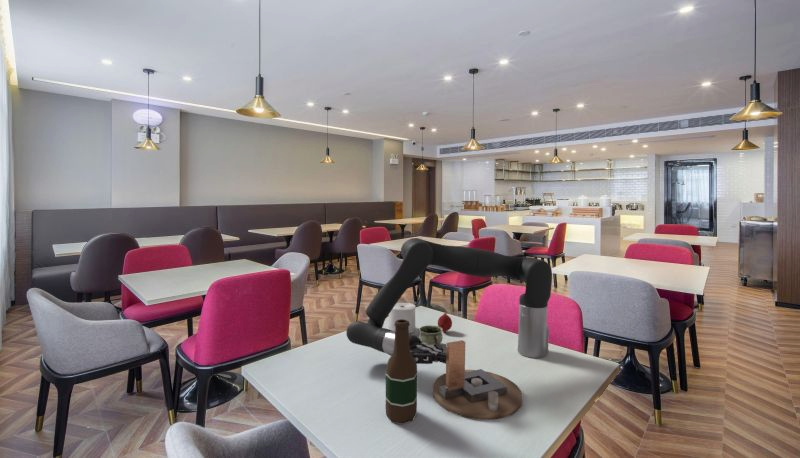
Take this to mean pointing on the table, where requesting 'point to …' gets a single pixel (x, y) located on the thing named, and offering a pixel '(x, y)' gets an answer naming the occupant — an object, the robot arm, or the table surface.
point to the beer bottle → (401, 378)
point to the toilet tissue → (403, 315)
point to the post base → (485, 408)
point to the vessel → (430, 334)
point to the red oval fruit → (445, 322)
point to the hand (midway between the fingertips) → (451, 360)
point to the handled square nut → (466, 377)
